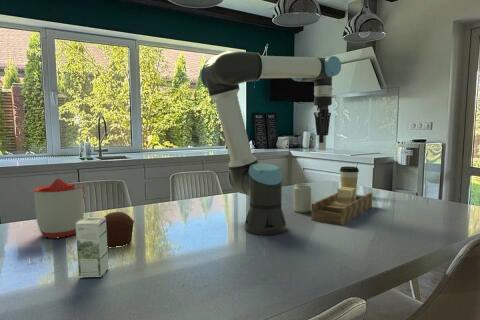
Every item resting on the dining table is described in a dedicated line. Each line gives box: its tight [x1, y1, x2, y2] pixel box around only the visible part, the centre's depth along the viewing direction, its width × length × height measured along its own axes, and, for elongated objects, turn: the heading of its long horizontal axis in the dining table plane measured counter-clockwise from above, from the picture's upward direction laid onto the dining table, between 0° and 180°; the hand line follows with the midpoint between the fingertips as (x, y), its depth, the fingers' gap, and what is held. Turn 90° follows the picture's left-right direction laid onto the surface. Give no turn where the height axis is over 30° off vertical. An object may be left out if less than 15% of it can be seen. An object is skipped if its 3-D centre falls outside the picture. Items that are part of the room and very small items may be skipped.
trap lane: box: [311, 191, 373, 226], centre depth 146 cm, size 36×13×6 cm, turn 143°
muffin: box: [103, 211, 135, 247], centre depth 111 cm, size 12×11×10 cm
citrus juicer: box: [32, 178, 88, 239], centre depth 122 cm, size 16×17×20 cm
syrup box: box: [75, 216, 110, 277], centre depth 88 cm, size 6×6×14 cm
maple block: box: [336, 186, 357, 204], centre depth 148 cm, size 6×6×6 cm
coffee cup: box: [339, 166, 360, 189], centre depth 181 cm, size 10×10×15 cm
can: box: [293, 182, 312, 214], centre depth 150 cm, size 8×8×12 cm
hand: (322, 150), depth 152 cm, fingers closed
